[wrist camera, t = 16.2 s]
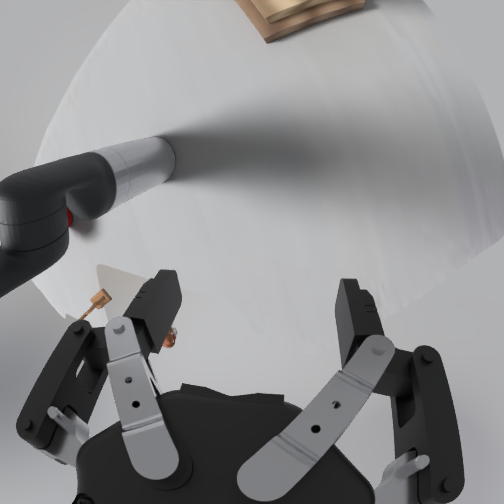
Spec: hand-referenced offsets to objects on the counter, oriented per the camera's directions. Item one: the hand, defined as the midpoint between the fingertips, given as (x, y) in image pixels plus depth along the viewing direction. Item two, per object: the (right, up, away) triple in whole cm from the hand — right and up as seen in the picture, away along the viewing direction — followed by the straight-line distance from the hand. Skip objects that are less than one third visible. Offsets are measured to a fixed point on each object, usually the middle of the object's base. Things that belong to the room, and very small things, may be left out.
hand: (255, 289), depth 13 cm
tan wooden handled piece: (-44, -12, +56) cm, 72 cm away
